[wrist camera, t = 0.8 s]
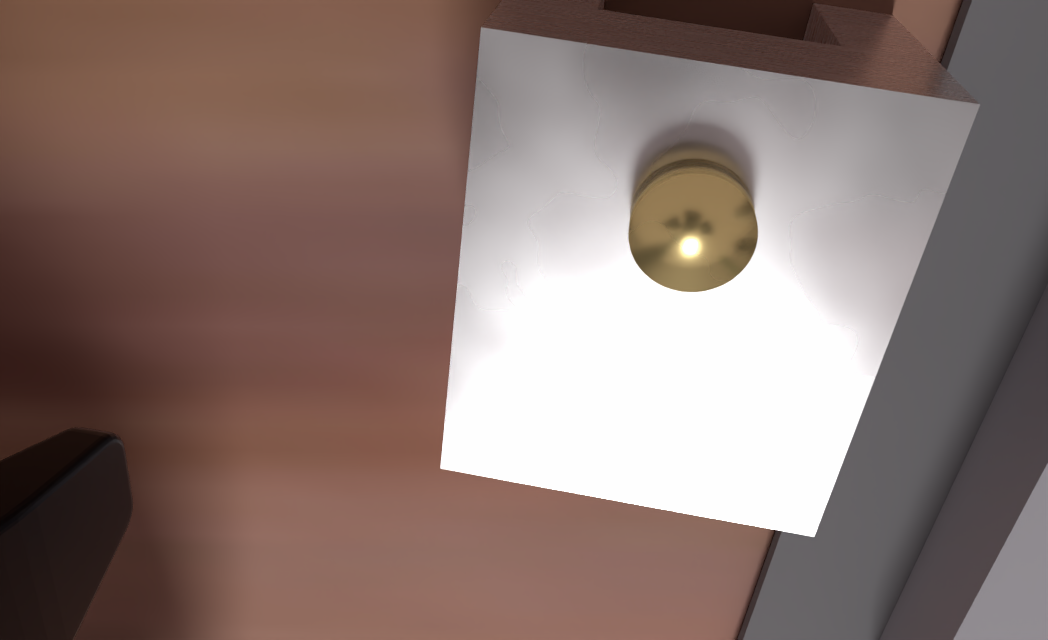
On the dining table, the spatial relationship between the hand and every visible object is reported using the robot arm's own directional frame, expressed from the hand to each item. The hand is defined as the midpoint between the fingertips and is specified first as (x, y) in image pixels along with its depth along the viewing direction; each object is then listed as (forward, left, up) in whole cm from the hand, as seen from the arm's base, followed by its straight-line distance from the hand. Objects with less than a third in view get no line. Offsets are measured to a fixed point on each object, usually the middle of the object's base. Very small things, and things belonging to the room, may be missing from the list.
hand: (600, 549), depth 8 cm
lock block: (0, -1, -10) cm, 10 cm away
